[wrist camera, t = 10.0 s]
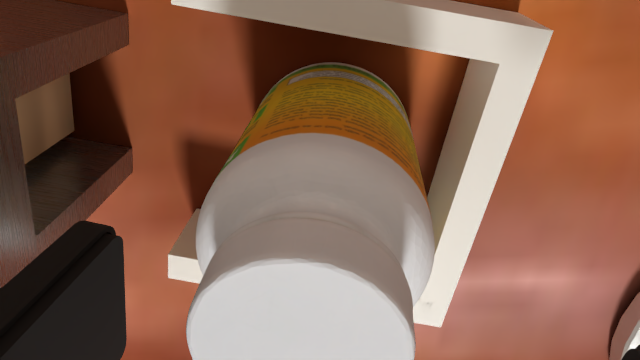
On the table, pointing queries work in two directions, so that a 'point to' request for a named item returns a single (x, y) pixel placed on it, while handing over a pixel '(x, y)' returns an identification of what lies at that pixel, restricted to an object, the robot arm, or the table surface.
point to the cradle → (466, 123)
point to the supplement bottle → (315, 228)
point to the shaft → (45, 116)
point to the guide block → (69, 153)
